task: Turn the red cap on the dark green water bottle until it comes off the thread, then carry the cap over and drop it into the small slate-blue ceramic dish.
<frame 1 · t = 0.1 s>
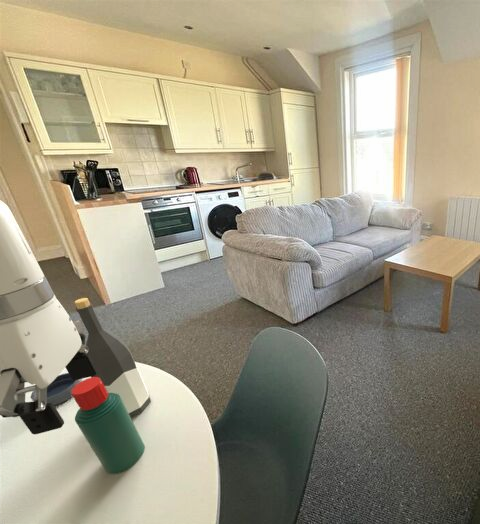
hand: (69, 400, 42), 24 cm above the table, tool pointing down, fingers open, 9 cm apart
wine bottle: (132, 407, 69), on the table
dish: (60, 394, 74), on the table
water bottle: (125, 456, 58), on the table
cap: (87, 387, 50), point 19 cm above the table, screwed on, not yet turned
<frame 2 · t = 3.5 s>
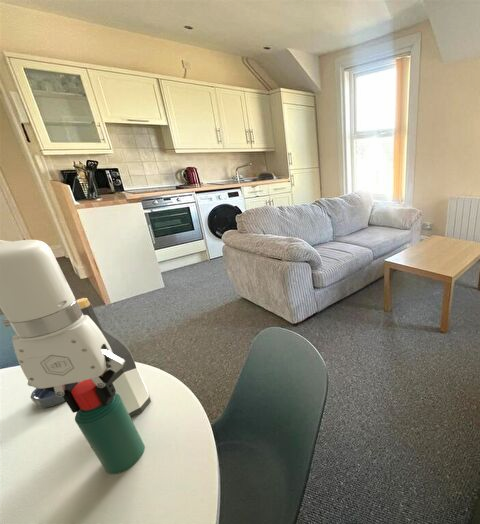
hand: (95, 401, 52), 15 cm above the table, tool pointing down, fingers closed on cap, 3 cm apart
cap: (87, 387, 50), point 19 cm above the table, screwed on, not yet turned, touching gripper
everything else where it was.
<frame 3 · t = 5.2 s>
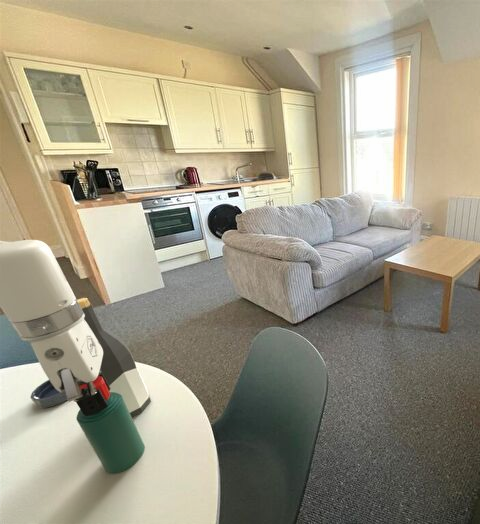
hand: (98, 401, 52), 15 cm above the table, tool pointing down, fingers closed on cap, 3 cm apart
water bottle: (125, 456, 58), on the table, touching gripper
cap: (89, 386, 50), point 19 cm above the table, turned 108° so far, risen 0.1 cm, still on its thread, touching gripper
everything else where it was.
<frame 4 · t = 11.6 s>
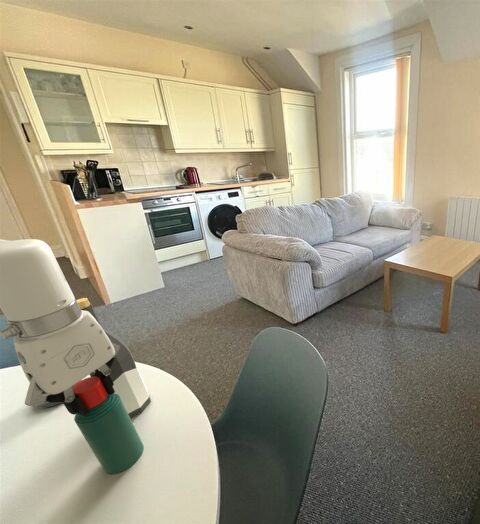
hand: (94, 401, 52), 16 cm above the table, tool pointing down, fingers closed on cap, 3 cm apart
water bottle: (124, 456, 58), on the table
cap: (86, 386, 50), point 19 cm above the table, turned 166° so far, risen 0.2 cm, still on its thread, touching gripper
everything else where it was.
when the fingers open (16 cm above the table, at t = 12.3 s): cap stays where it is, point 19 cm above the table.
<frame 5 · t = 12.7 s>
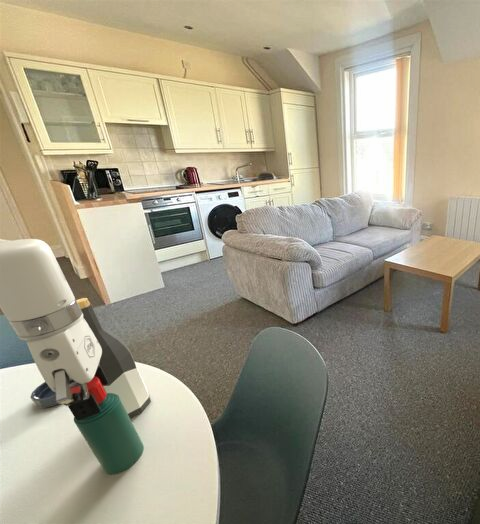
hand: (93, 399, 52), 16 cm above the table, tool pointing down, fingers open, 6 cm apart
cap: (85, 386, 50), point 19 cm above the table, turned 217° so far, risen 0.2 cm, still on its thread
everything else where it was.
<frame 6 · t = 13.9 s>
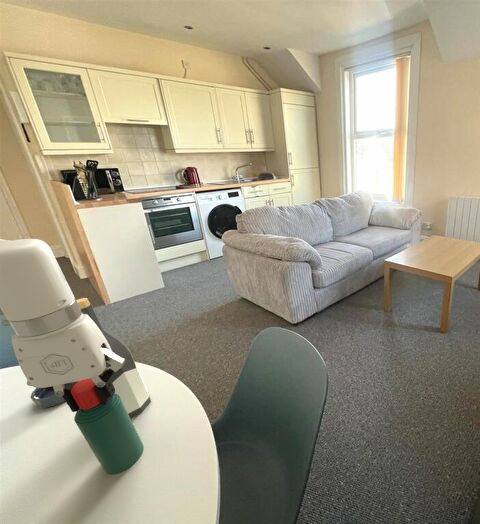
hand: (94, 401, 52), 16 cm above the table, tool pointing down, fingers closed on cap, 3 cm apart
cap: (86, 386, 50), point 19 cm above the table, turned 217° so far, risen 0.2 cm, still on its thread, touching gripper
everything else where it was.
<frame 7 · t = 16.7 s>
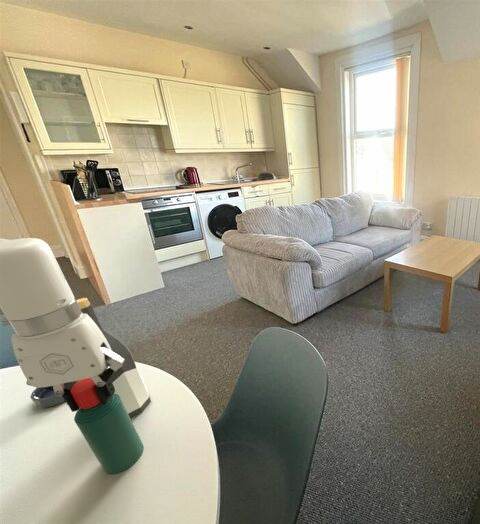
hand: (94, 400, 52), 16 cm above the table, tool pointing down, fingers closed on cap, 3 cm apart
cap: (86, 385, 50), point 19 cm above the table, turned 325° so far, risen 0.3 cm, still on its thread, touching gripper
everything else where it was.
when the fingers open (3 cm above the table, at t = 28.3 s): cap drops 3 cm, resting on dish.
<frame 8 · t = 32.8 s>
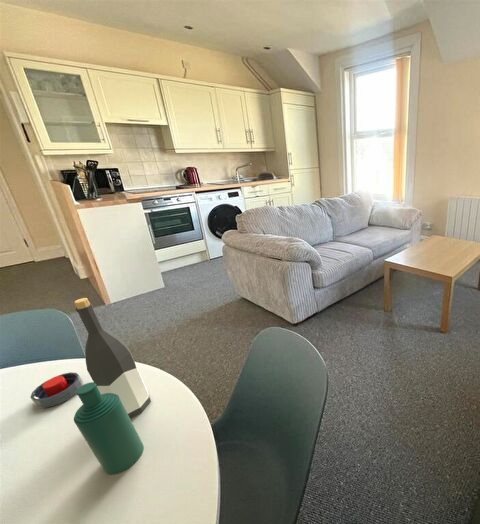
cap: (53, 382, 73), point 4 cm above the table, off its thread, touching dish
everything else where it was.
at the end: cap came off its thread; cap 0.1 cm off-centre in the dish, point 3.9 cm above the dish's base; the gripper is holding nothing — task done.
